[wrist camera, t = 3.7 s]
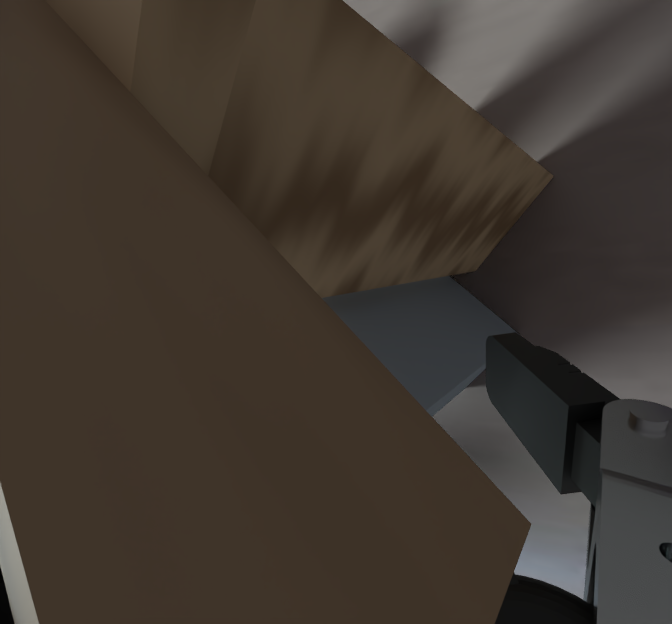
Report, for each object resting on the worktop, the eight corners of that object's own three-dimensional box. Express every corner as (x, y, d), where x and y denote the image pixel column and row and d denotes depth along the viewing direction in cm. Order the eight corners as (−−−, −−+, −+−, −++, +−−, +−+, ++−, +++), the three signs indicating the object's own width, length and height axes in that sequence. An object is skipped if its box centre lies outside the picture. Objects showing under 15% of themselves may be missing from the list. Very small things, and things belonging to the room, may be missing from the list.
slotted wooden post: (475, 271, 34) (98, 337, 10) (403, 214, 38) (12, 164, 14) (553, 176, 29) (162, -150, 5) (461, 121, 33) (-4, -204, 9)
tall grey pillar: (465, 387, 37) (323, 508, 20) (399, 322, 41) (235, 378, 24) (520, 335, 32) (399, 432, 16) (440, 268, 36) (276, 289, 20)
